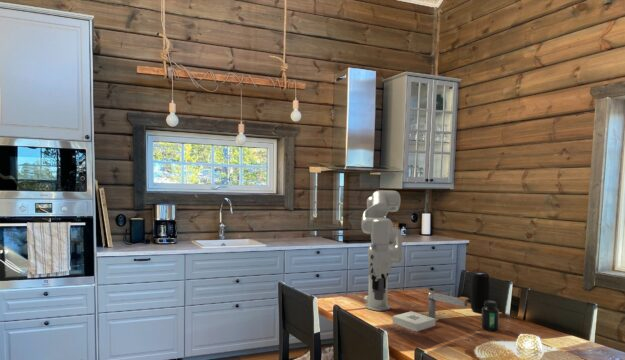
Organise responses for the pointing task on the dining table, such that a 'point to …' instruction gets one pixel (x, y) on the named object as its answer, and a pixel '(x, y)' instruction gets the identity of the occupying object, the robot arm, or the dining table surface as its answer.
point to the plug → (379, 290)
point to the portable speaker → (479, 290)
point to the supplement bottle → (490, 316)
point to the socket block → (417, 319)
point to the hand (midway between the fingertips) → (378, 288)
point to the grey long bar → (448, 299)
